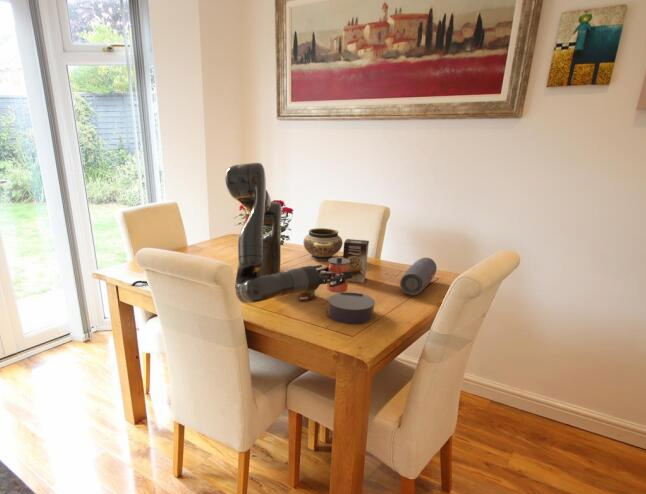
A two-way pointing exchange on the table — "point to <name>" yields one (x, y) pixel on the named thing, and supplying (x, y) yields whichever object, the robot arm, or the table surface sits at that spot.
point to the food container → (307, 296)
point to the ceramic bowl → (322, 243)
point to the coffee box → (356, 258)
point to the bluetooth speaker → (418, 276)
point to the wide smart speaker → (351, 307)
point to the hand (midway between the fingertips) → (344, 271)
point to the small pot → (338, 267)
